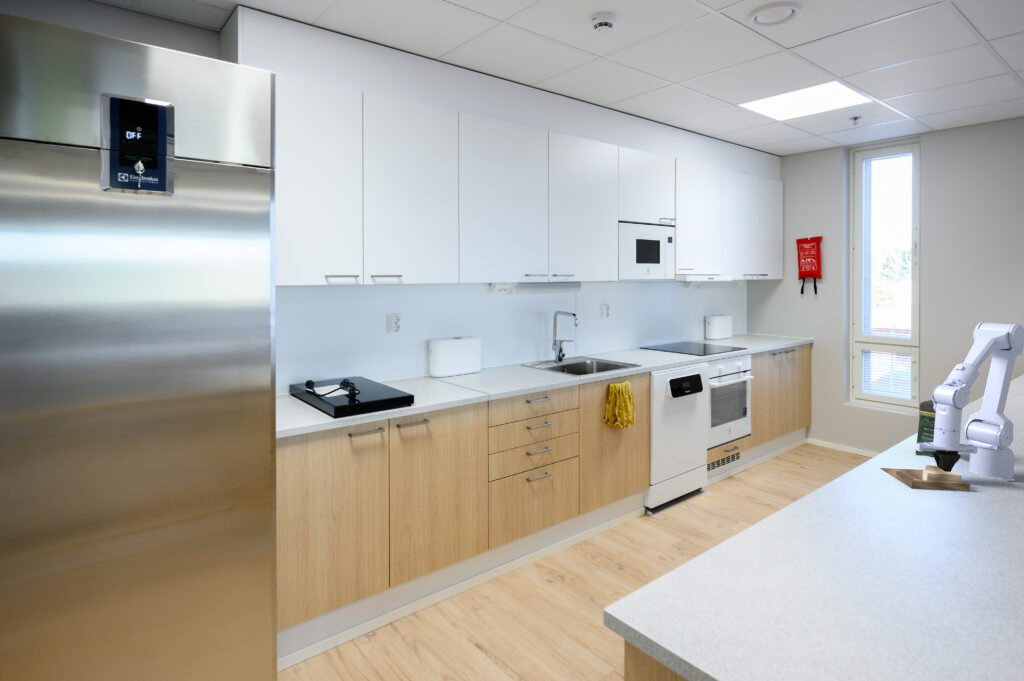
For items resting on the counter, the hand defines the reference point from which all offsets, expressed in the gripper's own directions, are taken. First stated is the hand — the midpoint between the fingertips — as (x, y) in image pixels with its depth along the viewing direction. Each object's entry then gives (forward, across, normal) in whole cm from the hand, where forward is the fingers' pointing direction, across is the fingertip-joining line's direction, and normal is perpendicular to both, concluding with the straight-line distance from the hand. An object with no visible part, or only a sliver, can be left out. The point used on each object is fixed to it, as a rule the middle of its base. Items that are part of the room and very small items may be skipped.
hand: (943, 477), depth 158 cm
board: (+2, +5, 0) cm, 6 cm away
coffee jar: (+2, -12, -27) cm, 30 cm away
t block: (+1, +3, +2) cm, 3 cm away
